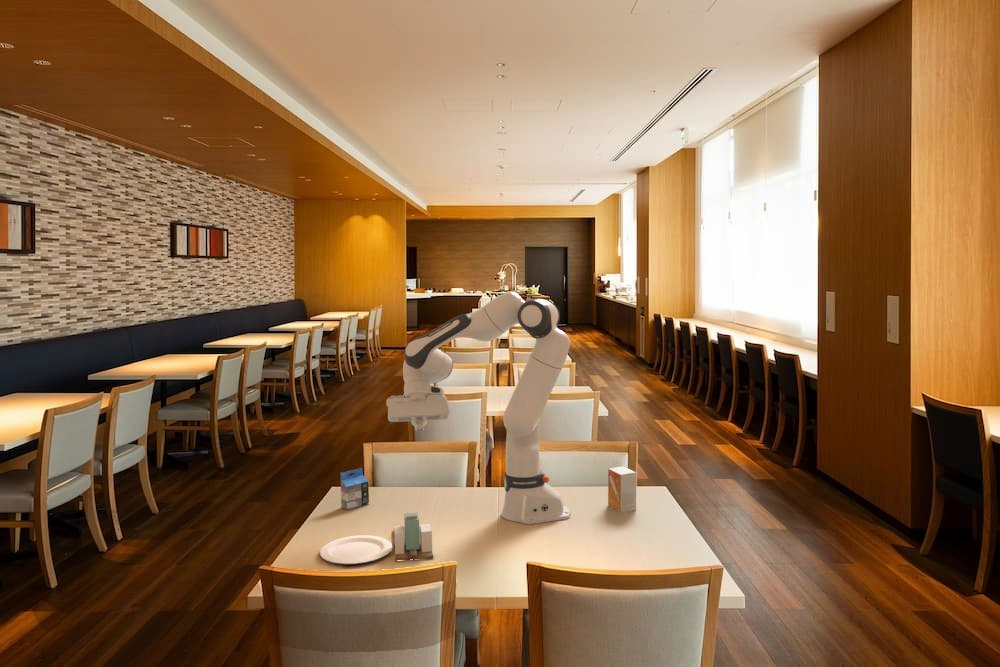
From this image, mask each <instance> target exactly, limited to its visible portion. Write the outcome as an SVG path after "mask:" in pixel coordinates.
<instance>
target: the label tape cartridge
mask: <svg viewBox="0 0 1000 667" xmlns="http://www.w3.org/2000/svg"><path fill="white" fill-rule="evenodd" d="M351 474H352V475H351ZM369 493H370V492H369V481H368V479H367V478H366V476H364V474H363V467H359V468H356V469H352V470H346V471H342V472H340V502H341V503H340V504H341V505H340V506H341V509H344V510H346V511H349V510H352V509H356V507H357V508H359V507H364V506H367V504H368V505H370V494H369ZM363 505H364V506H363Z"/></svg>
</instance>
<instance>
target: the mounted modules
mask: <svg viewBox="0 0 1000 667" xmlns="http://www.w3.org/2000/svg"><path fill="white" fill-rule="evenodd" d="M419 526H420V543H421V550H422V552H430V551H432V552H433V533H432V532H433V530H432V527H431V523H421V524H419ZM403 527H404V526H403V525H397V526H396V525H394V526H393V533H394V532H395V542H394V554H404V532H403Z"/></svg>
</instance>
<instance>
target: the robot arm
mask: <svg viewBox="0 0 1000 667" xmlns="http://www.w3.org/2000/svg"><path fill="white" fill-rule="evenodd" d="M560 321H561V313H560V309H559V308H558V306H557V305H556V304H555V303H554V302H552V301H551V300H547V299H544V298H531V299H528V300H526V301H525V300H524V298H522V296H520V295H519V294H518V293H517V292H515V291H506V292H504V293H501V294H500V295H498V296H496V297H495V298H493V299H491V300H490V301H489V302H487V303H486V304H485V305H484V306H482V307H481V308H478V309H476V310H475V311H471V312H469V313H466V314H465V313H462V314H459V315H457V316H454V317H453V318H451V319H449V320H448V321H446V322H445V323H443V324H440V325H439V326H438V327H436V328H434V329H433V330H431V331H430V332H428V333H426V334H424V335H421V336H419V337H416V338H414V339H412V340H410V341H409V342H408V343H407V344H406V346H405V348H404V353H403V355H404V357H403V358H404V360H403V365H402V366H403V367H402V376H403V377H402V378H403V381H404V384H403V385H404V386H403V395H402V394H401V395H391V396H389V397H387V398H386V401H385V402H386V403H385V404H386V407H387V420H388V421H389V422H390V423H396V422H397V423H400V422H401V423H402V422H411V425H412V426H413V427H414V431H415V432H425V427H426V425H427V423H428V421H440V420H448V419H449V418H450V412H451V411H450V406H449V402H448V398H447V397H446V396H445V390H444V388H442V387H439V386H434V385H433V384H436V383H438V382H441V381H444V380H445V379H447V378H448V377H449V376H450V375H451V373H452V371H453V368H454V361H453V359H452V357H450V356H449V355H448V354H447V353H445V352H444V351H442V350H440V349H439V348H440V347H442V346H443V345H445V344H447V343H449V342H451V341H452V340H454V339H457V338H467V339H472V340H477V341H478V342H479V341H480V342H491V341H494V340H496V339H499V337H501V336H503V334H505V333H506V332H507V331H508V330H510V329H511V328H513V327H514V326H516V325H519V326H521V328H522V329H523V330H524V331H525V332H526V333H528V334H529V336H530V337H532V338H533V339H535V344H534V347H533V349H532V351H531V353H530V355H529V357H528V359H527V362H526V364H525V366H524V368H523V371H522V373H521V375H520V378H519V380H518V382H517V384H516V386H515V388H514V390H513V393H512V394H511V397H510V398H509V401H508V403H507V406H506V408H505V411H504V413H503V417H502V421H503V425H504V427H505V430H506V437H505V438H506V440H505V472H504V477H503V478H504V480H503V482H504V484H503V486H504V490H505V494H504V501H503V507H502V511H501V517H502V518H504V519H506V520H508V521H512V522H518V523H521V524H524V525H534V524H541V523H547V522H554V521H559V520H566V519H569V518H570V516H571V513H570V509H569V507H567V506H566V505H565V504H564V503H563V499H562V496H561V494H560V493H559V492H558V491H557V490H556V489H555V488H553V487H552V486H550V485H549V484H548V483H549V481H550V477H549V476H548V475H546V474H545V473H544V472H542V471H540V443H541V442H540V440H541V439H540V437H541V436H540V435H541V434H540V433H541V417H542V414H543V412H544V410H545V407H546V405H547V403H548V400H549V399H550V396H551V394H552V392H553V389H554V387H555V385H556V382H558V378H559V376H560V374H561V372H562V370H563V367H564V365H565V363H566V360H567V356H568V354H569V351H570V346H571V339H570V337H569V336H568V334H567V333H566V332H564V331H563V330H561V329H559V328H558V325H559V323H560ZM431 384H432V385H431ZM419 421H422V422H421V423H422V424H421V423H419V424H417V422H419Z"/></svg>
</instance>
